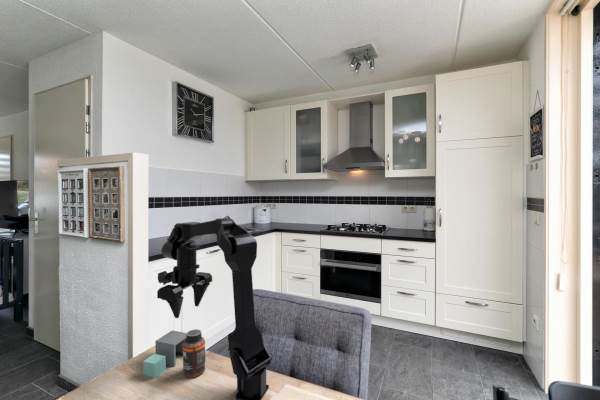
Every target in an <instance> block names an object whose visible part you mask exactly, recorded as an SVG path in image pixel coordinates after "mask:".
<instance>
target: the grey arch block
mask: <svg viewBox="0 0 600 400" xmlns="http://www.w3.org/2000/svg"><path fill="white" fill-rule="evenodd" d="M186 334H187V332H183V331H177V330H173V329H172V330H170V331H169V332H167V333H166V334H164V335H163V336H161V337H160V338H158V339H156V340H155V354H159V355H163V356H166V366H170V367H174V368H175V367H176V366H177V365H176V363H177V361H176V360H177V358H176V353H178V354H182V355H183V343H184V341H185V340H186Z"/></svg>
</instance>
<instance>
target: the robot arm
mask: <svg viewBox="0 0 600 400" xmlns="http://www.w3.org/2000/svg"><path fill="white" fill-rule="evenodd" d="M226 233H228V234H229V235H230V236H228V237H227V236H226V235H225V234H226ZM213 234H215V236H216V244H217V246H218V248H219V249H220V250H221V251H222V252H223V256H224V261H225V263H226V265H227V267H228V268H229V269H230V270H231V274H232V275H231V277H232V292H233V306H234V307H233V308H234V320H235V321H234V322H235V327H234V330H233V331H232V332H230V333H228V336H227V341H228V348H227V351H229V357H230V359H229V360H230V362H231V363H230V364H231V367H232V372H233V374H234V375H235V376H236V389H237V393H236V394H235V395H234V398H235V399H237V400H262V399H263V398H264V397H265V395H266V394H267V392H268V390H269V389H270V388H269V387H270V385H269V384H267V366H270V365H271V364H272V360H273V357H272V355H271V353H270V351H269V349H268V348H267V346H266V344H265V342H264V339H263V334H262V331H261V330H260V328H259V327H258V326H257V324H256V317H255V316H256V315H255V314H256V313H255V302H254V287H253V284H254V283H253V266H254V264H255V261H256V259H257V255H258V254H257V253H258V242H257V239H256V238H255V237H254V236H253V235H252V234H251V233H250V232H249V231H248V230H247V229H245V228H244V227H242V226H241V225H239V224H237V223H236V222H235V221H234V219H232V218H230V217H223V218H222V217H221V218H216V219H214V220H213V219H212V220H209V221H203V222H199V221H190V222H189V221H188V222H187V221H186V222H179V223H175V224H174V226H173V227H172V229H171V232H170V234H169V236H168V237H167V241H166V242H165V243H164V244H163V245H162V248H161V254H162V256H163V257H164V258H167V259H171V260H174V261H176V266H173V268H172V269H173V270H172V271H170V272H167V270H164V271H162V272H161V271H160V272H158V273H157V281H158V283H159V284H162V285H163V286H162V287H160V288H159V289H158V290H157V299H161V300H163V301H166V302H167V303H168V306H169V307H170V309H171V312H172V314H173V317H174V318H175V319H179V317H180V314H181V309H182V305H183V301H184V296H183V294H184V290H185V289H188V288H190V287H191V289H193V301H194V306H195V307H197V308H198V307H200V303H201V301H202V299H203V297H204V295H205V293H206V292H207V290H208V287H209V286H210V285H211V283H213V275H212V274H211V273H210V272H203V271H198V270H197V269H199V268H200V264H197V250H199V249H201V246H200V245H199V244H198V243H197V242H196V241H197V240H199V239H201V238H202V237H203V236H206V235H213ZM197 271H198V272H197ZM169 283H171V284H169ZM166 284H167V285H166ZM176 284H177V285H176Z"/></svg>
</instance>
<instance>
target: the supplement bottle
mask: <svg viewBox="0 0 600 400" xmlns="http://www.w3.org/2000/svg"><path fill="white" fill-rule="evenodd" d="M186 333H187V334H186V340H185V341H184V343H183V354H182V366H183V367H182V371H183V375H184V376H185V377H187V378H195V377H199V376H201V375H202V374H203V373H204V372H205V371H206V340H205V338H204V337H203V336H202V330H201V329H195V328H194V329H191V330H188V331H187V332H186Z"/></svg>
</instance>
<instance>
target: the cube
mask: <svg viewBox="0 0 600 400" xmlns="http://www.w3.org/2000/svg"><path fill="white" fill-rule="evenodd" d="M142 368H143V369H142V374H143V375H142V376H146V377H149V378H154V379H155V378H157V377H158V376H159V375H161V374H162V373H163V372H165V371H166V369H167V365H166V356H163V355H159V354H156V353H153V354H151V355H150V356H149V357H147V358H146V359H144V360H143V361H142Z"/></svg>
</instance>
